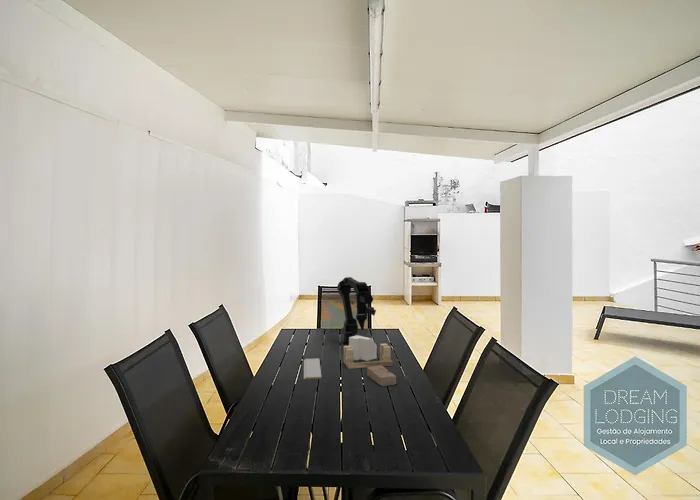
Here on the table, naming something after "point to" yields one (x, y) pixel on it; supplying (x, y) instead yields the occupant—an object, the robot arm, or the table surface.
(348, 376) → the table surface
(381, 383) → the brick
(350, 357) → the wooden rack
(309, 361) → the baseboard
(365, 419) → the table surface
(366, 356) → the grey faceted lump
